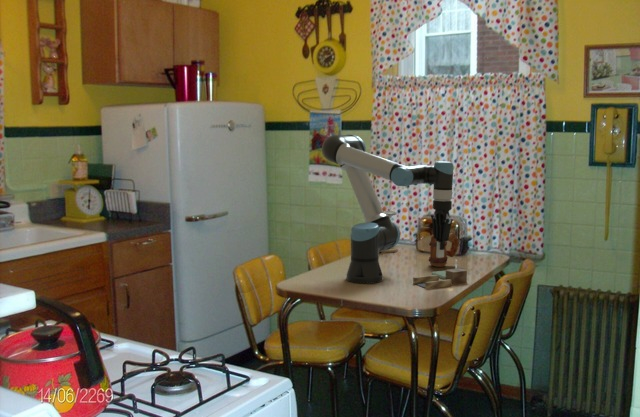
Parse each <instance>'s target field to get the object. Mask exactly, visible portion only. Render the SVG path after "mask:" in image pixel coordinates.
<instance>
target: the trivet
mask: <svg viewBox="0 0 640 417" xmlns="http://www.w3.org/2000/svg"><path fill="white" fill-rule="evenodd" d="M446 270H447V269H445V270H438V271H431V275H439V278H440V279H442V280H445V279H446Z"/></svg>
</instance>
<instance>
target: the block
mask: <svg viewBox="0 0 640 417" xmlns="http://www.w3.org/2000/svg"><path fill="white" fill-rule="evenodd" d="M445 270H446V279H444V280H449V279H451V285H456V284H463V283H468V282H467V280H468V279H467V278H468V270H466V269H463V268H458V267H457V268H451V269H445Z"/></svg>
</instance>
